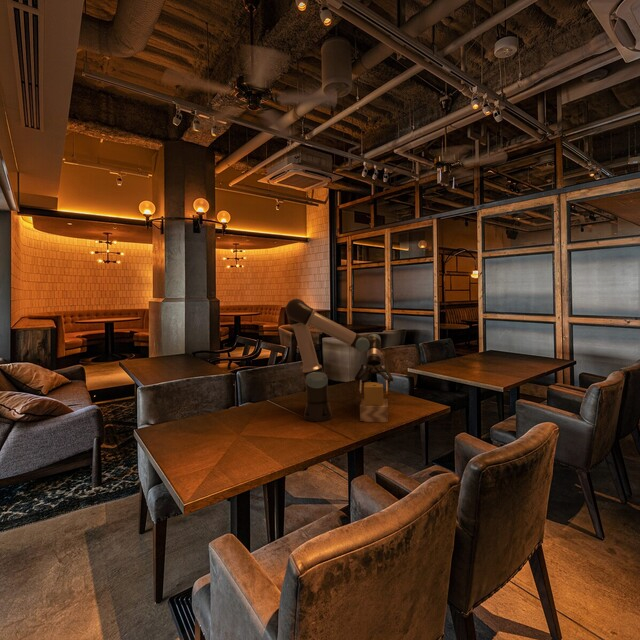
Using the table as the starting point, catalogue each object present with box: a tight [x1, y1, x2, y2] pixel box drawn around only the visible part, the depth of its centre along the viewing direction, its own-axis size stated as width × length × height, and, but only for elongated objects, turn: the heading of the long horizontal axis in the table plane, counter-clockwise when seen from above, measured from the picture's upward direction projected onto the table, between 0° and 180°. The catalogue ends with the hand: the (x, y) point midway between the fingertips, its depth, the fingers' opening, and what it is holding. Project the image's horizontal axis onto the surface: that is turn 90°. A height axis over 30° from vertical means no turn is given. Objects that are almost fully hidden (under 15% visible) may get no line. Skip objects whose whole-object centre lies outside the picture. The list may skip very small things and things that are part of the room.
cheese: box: [363, 381, 385, 405], centre depth 196 cm, size 10×11×10 cm
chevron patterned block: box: [359, 398, 389, 423], centre depth 197 cm, size 14×14×8 cm
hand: (373, 392), depth 194 cm, fingers open, 13 cm apart
